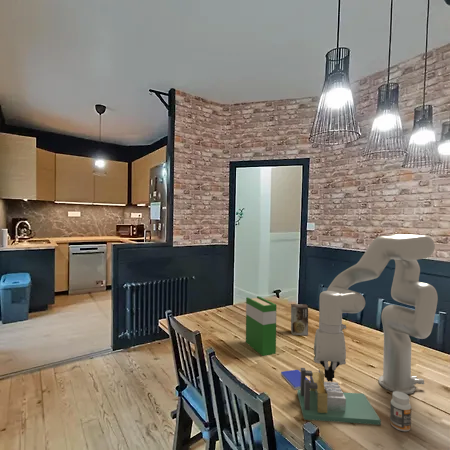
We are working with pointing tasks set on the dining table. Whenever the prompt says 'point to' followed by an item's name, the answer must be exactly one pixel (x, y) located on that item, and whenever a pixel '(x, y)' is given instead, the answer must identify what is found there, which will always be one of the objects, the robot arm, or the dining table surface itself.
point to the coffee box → (299, 319)
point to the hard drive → (293, 378)
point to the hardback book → (261, 325)
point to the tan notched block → (320, 391)
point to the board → (355, 411)
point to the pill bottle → (400, 411)
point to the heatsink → (334, 397)
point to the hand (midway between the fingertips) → (329, 379)
